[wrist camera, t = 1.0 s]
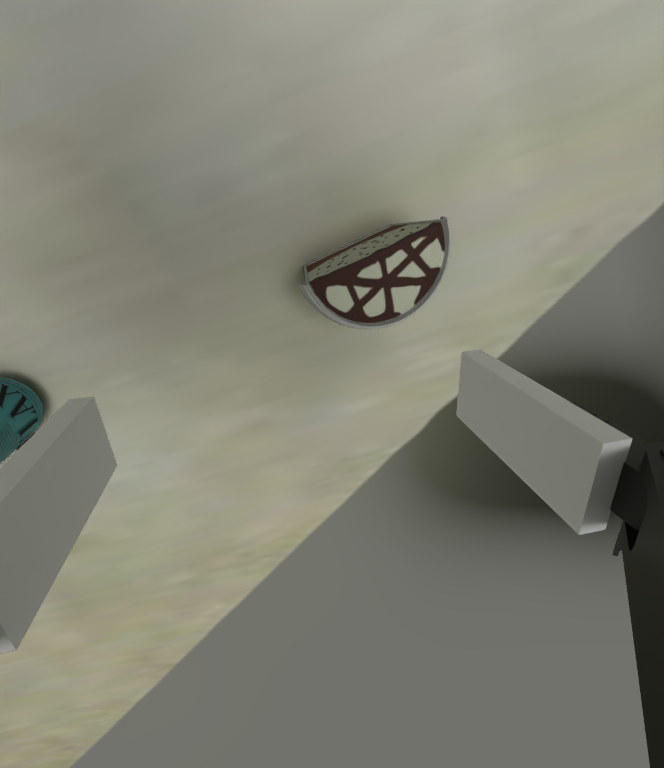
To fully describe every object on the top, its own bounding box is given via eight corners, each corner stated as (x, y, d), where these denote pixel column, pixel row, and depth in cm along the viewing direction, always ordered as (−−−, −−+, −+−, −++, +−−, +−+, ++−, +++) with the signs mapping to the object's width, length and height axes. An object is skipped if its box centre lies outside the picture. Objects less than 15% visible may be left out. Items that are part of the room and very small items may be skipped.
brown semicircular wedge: (315, 329, 40) (333, 360, 31) (288, 272, 37) (300, 288, 28) (423, 277, 40) (474, 293, 31) (405, 217, 37) (454, 215, 28)
